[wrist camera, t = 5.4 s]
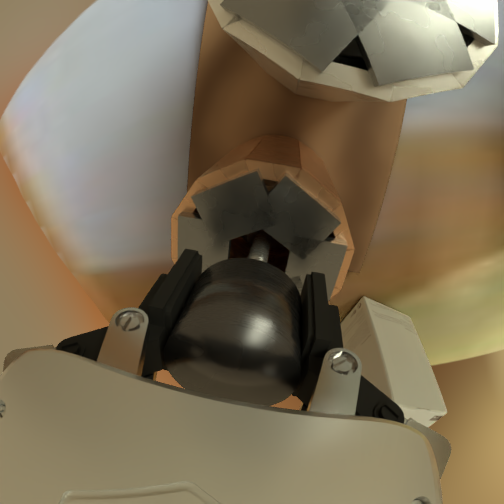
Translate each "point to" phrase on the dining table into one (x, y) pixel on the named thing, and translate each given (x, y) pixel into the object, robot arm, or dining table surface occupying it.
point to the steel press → (364, 44)
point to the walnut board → (293, 128)
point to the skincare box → (393, 359)
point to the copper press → (268, 211)
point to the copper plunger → (240, 329)
